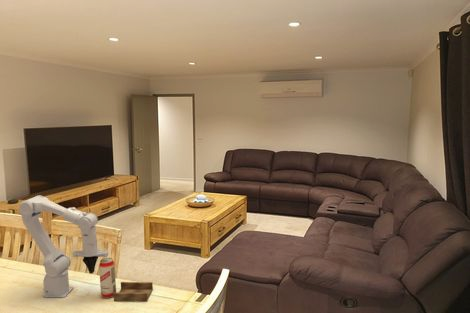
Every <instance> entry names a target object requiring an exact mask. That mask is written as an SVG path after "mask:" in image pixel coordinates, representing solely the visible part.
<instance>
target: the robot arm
mask: <svg viewBox="0 0 470 313" xmlns="http://www.w3.org/2000/svg"><path fill="white" fill-rule="evenodd" d="M17 211H18V213H19V215H20V216H21V220H22V223H23V225H24V227H25V228H26V230H27V232H28V233H29V235H30V236H31V238H32V240H33V241H34V242H35V244H36V245H37V247H38V249H39V250H40V252H41V253H42V256H43V257H44V260H43V262H42V265H43V267H44V270H45V275H44V277H43V283H42V284H43V293H44V294H43V297H44V298H65V297H66V296H68V294H69V293H70V292H72V290H73V289H74V286H70V281H69V280H70V279H69V267H70V266H71V264H72V263H71V262H72V261H71V259H70V257H69V256H68V255H67V254H65V253H64V251H62V250H59V249H57V247H56V246H55V243H54V242H53V241H52V239H51V237H50V236H49V234H48V232H47V231H46V229H45V227H44V226H43V224H42V223H41V221H40V220H39V219H40V217H41V214H42V213H43V212H48V213H51V214H54V215H58V216H61V217H63V220H64V221H66V222H68V223H71V224H73V225H77V226H78V228H79V229H80V233H81V242H82V250H74V251H73V252H72V258H77V257H82V262H83V263H84V264H85V266H86V268H87V271H88V273H89V274H94V272H95V269H96V265H97V261H98V259H99V258H100V257H101V258H102V257H104V258H108V257H109V251H108V250H102V249H98V239H97V237H98V236H97V226H96V225H97V224H98V221H99V218H98V215H97V214H95V213H93V212H88V213H87V212H86V211H81V210H79V209H77V208H76V207H74V206H73V207H68V208H66V207H64V206H62V205H59V204H58V203H55V202H53V201H52V200H50V199H49V198H48V197H45V196H43V195H40V194H39V195H36V196H34V197H31V198H28V199H26V200H23V201H21V202H20V203H19V206H18V209H17Z"/></svg>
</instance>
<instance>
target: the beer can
mask: <svg viewBox="0 0 470 313" xmlns="http://www.w3.org/2000/svg"><path fill="white" fill-rule="evenodd" d="M98 266H99V268H98V269H99V284H100V287H99V288H100V295H101V297H103V298H104V299H110V298H112V297H113V298H114V294H113V293H114V292H115V293H117V284H116V283H117V281H116V267H115V266H116V264H115V262H114V259H113V258H112V257H104V258H102V259H100V262H99V264H98Z"/></svg>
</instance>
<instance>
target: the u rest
mask: <svg viewBox="0 0 470 313" xmlns="http://www.w3.org/2000/svg"><path fill="white" fill-rule="evenodd" d="M153 285H154V284H153V282H152V281H148V282H147V281H140V282H139V281H120V290H119V291H118V292H116V293H115V292H114V293H113V294H114V296H113V301H114V302H143V303H144V302H146V303H148V301H149V298H150V296H151V294H152V291H153V287H154V286H153Z"/></svg>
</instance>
